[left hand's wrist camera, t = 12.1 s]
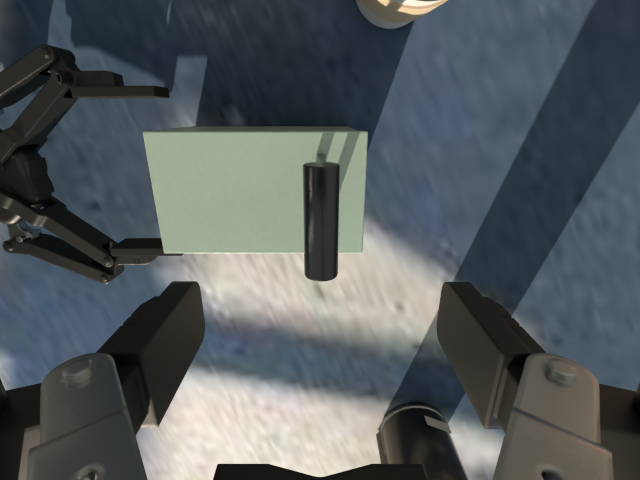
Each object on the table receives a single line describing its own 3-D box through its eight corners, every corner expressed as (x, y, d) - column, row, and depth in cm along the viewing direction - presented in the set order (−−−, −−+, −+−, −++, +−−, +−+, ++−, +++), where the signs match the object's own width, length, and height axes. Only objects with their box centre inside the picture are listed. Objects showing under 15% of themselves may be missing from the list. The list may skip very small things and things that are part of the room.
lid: (366, 130, 25) (388, 138, 17) (360, 249, 28) (377, 302, 20) (148, 130, 25) (67, 138, 17) (168, 249, 28) (108, 302, 20)
